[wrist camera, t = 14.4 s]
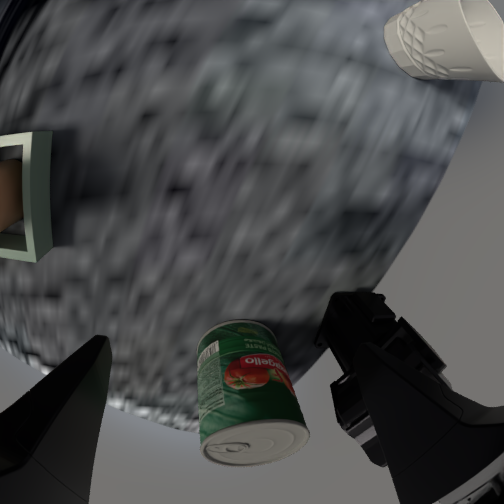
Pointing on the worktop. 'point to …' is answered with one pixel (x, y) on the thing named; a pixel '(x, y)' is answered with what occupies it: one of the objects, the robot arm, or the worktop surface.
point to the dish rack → (32, 198)
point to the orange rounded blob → (10, 193)
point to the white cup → (448, 40)
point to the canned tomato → (246, 397)
